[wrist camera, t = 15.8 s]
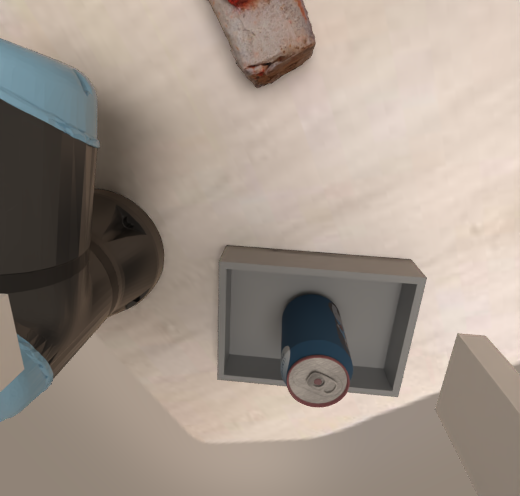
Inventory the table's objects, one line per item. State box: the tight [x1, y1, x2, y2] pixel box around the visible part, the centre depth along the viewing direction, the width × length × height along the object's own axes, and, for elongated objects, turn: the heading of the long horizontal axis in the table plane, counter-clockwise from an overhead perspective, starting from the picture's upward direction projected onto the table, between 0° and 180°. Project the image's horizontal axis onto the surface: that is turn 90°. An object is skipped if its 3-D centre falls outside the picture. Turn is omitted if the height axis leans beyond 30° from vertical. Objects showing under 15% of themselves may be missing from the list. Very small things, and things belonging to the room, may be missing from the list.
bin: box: [217, 245, 427, 397], centre depth 42 cm, size 22×16×5 cm
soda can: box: [281, 294, 353, 407], centre depth 38 cm, size 7×7×12 cm
